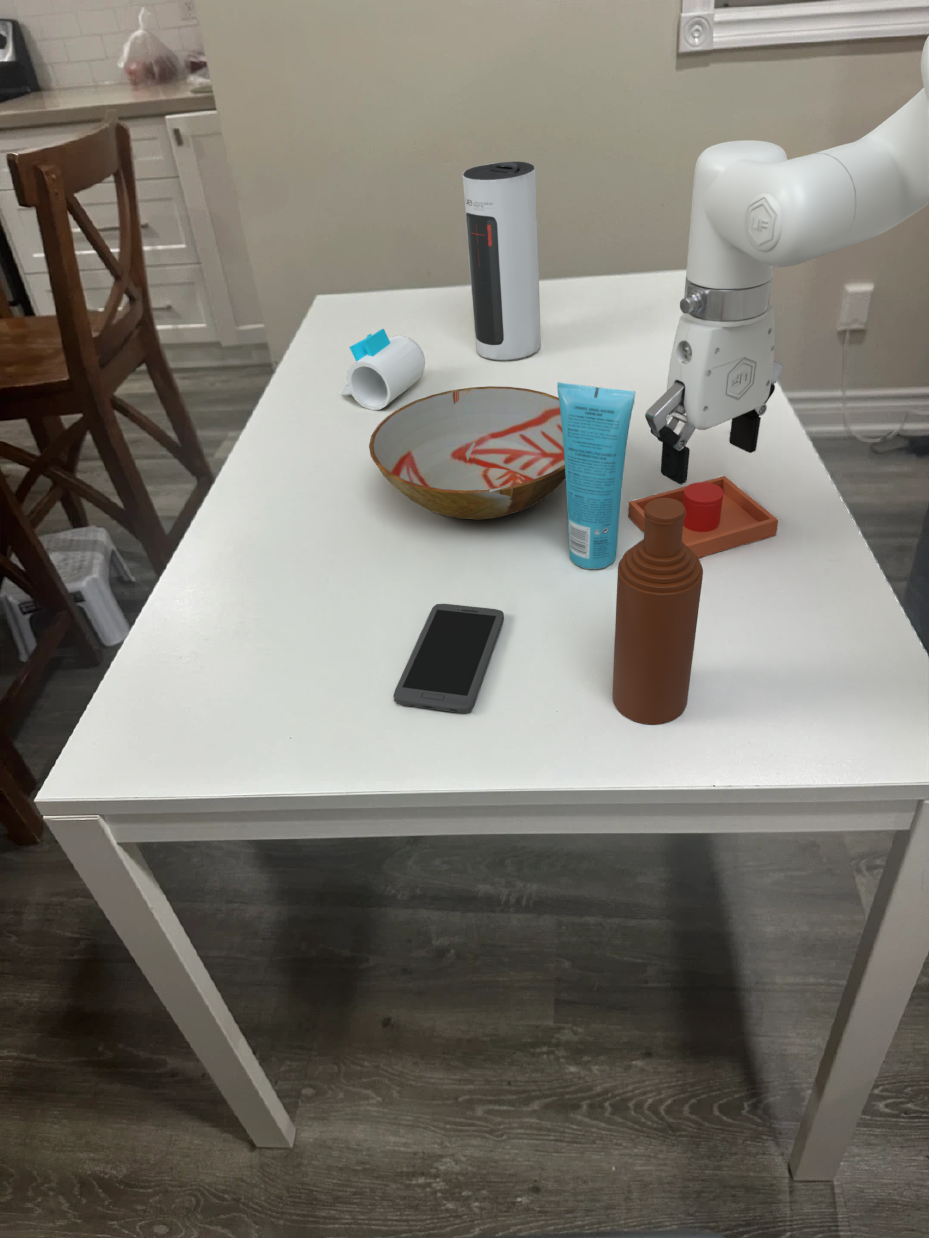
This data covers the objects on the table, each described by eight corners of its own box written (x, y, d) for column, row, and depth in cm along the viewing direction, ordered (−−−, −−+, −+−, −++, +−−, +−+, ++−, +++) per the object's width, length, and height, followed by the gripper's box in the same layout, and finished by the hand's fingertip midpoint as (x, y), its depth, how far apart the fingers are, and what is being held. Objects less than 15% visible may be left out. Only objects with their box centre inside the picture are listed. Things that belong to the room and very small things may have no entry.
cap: (673, 524, 94) (676, 494, 92) (693, 507, 97) (696, 478, 94) (707, 536, 92) (711, 506, 90) (726, 519, 94) (730, 489, 92)
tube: (631, 548, 92) (640, 379, 80) (622, 575, 89) (630, 402, 77) (563, 540, 95) (562, 373, 82) (552, 565, 91) (549, 396, 79)
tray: (722, 490, 100) (724, 475, 98) (776, 535, 92) (778, 519, 91) (627, 516, 97) (628, 501, 96) (674, 565, 90) (676, 549, 88)
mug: (413, 310, 124) (367, 342, 116) (440, 368, 128) (398, 403, 120) (356, 333, 131) (309, 365, 124) (383, 388, 135) (340, 422, 127)
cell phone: (391, 704, 77) (390, 698, 76) (435, 607, 87) (434, 601, 86) (471, 715, 75) (470, 709, 75) (506, 614, 85) (505, 609, 85)
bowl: (403, 576, 92) (393, 512, 87) (361, 466, 111) (351, 408, 106) (623, 526, 96) (627, 463, 91) (547, 428, 115) (546, 371, 110)
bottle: (663, 664, 78) (681, 477, 66) (701, 711, 74) (728, 518, 61) (599, 685, 77) (605, 497, 64) (634, 733, 72) (647, 541, 60)
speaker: (462, 347, 138) (447, 167, 121) (515, 330, 142) (508, 153, 125) (500, 367, 131) (490, 179, 114) (555, 348, 134) (552, 164, 118)
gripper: (685, 333, 73) (671, 506, 84) (825, 282, 79) (795, 449, 90) (626, 311, 78) (620, 477, 89) (762, 264, 84) (741, 424, 95)
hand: (708, 462), depth 89 cm, fingers open, 9 cm apart
